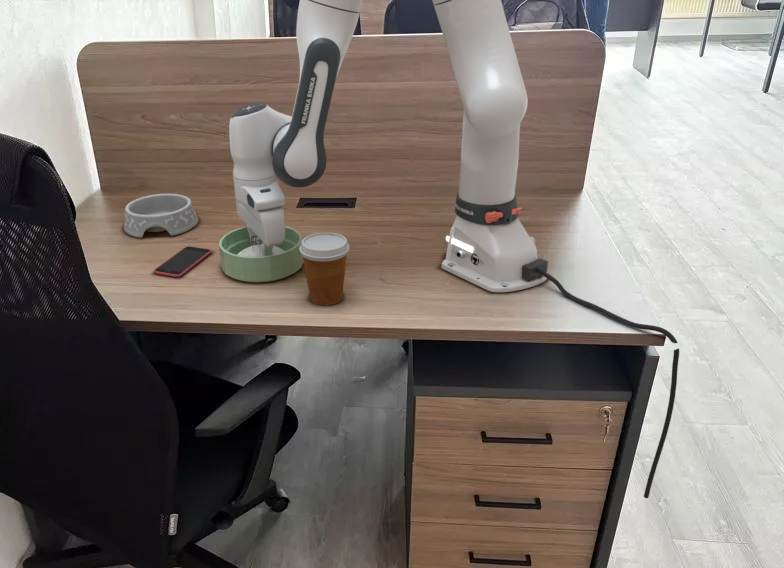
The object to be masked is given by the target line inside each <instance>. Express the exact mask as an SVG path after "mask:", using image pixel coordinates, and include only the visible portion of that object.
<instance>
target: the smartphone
mask: <svg viewBox="0 0 784 568" xmlns="http://www.w3.org/2000/svg"><path fill="white" fill-rule="evenodd" d="M210 254H212V250H211V249H209V248H204V247H197V246H190V245H189V246H185V247H183V248H182V249H181V250H180V251H178V252H176V253H175V254H174V255H173V256H171V257H170V258H168V259H167V260H165V262H163V263H161V264H160V265H159V266H158V267H156V268H155V269H154V270H153V273H154V274H157V275H163V276H168V277H172V278H173V277H175V278H179V277H182V276H184V275H185V274H186V273H187V272H189V271H190V270H191V269H192V268H194V267H195V266H196V265H197V264H199V263H200V262H201V261H203V260H204V259H205V258H207V256H209V255H210Z"/></svg>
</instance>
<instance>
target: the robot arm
mask: <svg viewBox="0 0 784 568" xmlns="http://www.w3.org/2000/svg"><path fill="white" fill-rule="evenodd" d="M363 1H364V0H299V4H298V8H297V17H296V30H295V31H296V32H295V33H296V45H297V51H298V59H299V80H298V85H297V91H296V95H295V101H294V105H293V110H292V114H291V115H288V114H285V113H282V112H279V111H278V110H276V109H273V108H272V107H271V106H269V104H267V103H264V102H259V103H258V102H255V103H250V104H246V105H244V106H241V107H239V108H237V109H236V110H234V112H233V113H232V114H231V116H230V119H229V123H228V124H229V126H228V129H229V130H228V131H229V132H228V136H229V151H230V156H231V159H232V161H233V170H232V179H233V188H234V197H235V208H236V213H237V216H238V218H239V219H240V220H241V221H242V222H243V223H244V224H245V225H246V227H247V229H248V232H249V235H250V242H251V243H252V241H253V238H254V241H253V245H259V244H260V243H259V240H260V239H261V240H262V243H263V248H262V255H263V256H269V255H273V253H272V249H273V246H276V245H280V244H282V243H283V242H284V239H285V226H286V225H285V224H286V222H285V221H286V220H285V218H286V217H285V211H284V208H283V206H286V203H287V201H286V196H285V193H284V192H283V190H282V188H281V187H280V184H279V180H280V181H281V182H282V183H283V184H285V185H286V186H288V187H292V188H307V187H310V186H312V185H314V184H316V183H317V182H318V181H319V180H320V179H321V178H322V176H323V175H324V173H325V171H326V168H327V153H326V147H325V141H324V138H325V137H324V135H325V130H326V129H325V128H326V125H327V120H328V115H329V111H330V105H331V101H332V97H333V94H334V93H333V92H334V89H335V84H336V81H337V78H338V75H339V72H340V70H341V67H342V64H343V62H344V59H345V57H346V54H347V51H348V49H349V47H350V44H351V42H352V39H353V36H354V33H355V30H356V27H357V25H358V22H359V17H360V14H361V10H362V6H363ZM431 2H432V4H433V7H434V10H435V13H436V17H437V21H438V24H439V27H440V29H441V33H442V36H443V39H444V43H445V46H446V49H447V53H448V57H449V61H450V65H451V67H452V71H453V74H454V75H453V76H454V78H455V81H456V84H457V89H458V93H459V96H460V100H461V103H462V107H463V114H462V131H461V132H462V133H461V134H462V135H461V148H460V149H461V150H460V165H459V181H458V192H457V193H456V197H455V200H454V202H455V203H454V207H455V208H454V213H455V214H456V215H455V219H454V221H453V224H452V225H451V228H450V230H449V235H446V237H445V240H446V242H447V249H446V255H445V259H443V261H442V262H441V265H440V267H441V268H440V269H442V270H444V271H446V272H448V273H450V274H452V275H455V276H457V277H459V278H461V279H463V280H465V281H467V282H469V283H471V284H473V285H476V286H478V287H480V288H482V289H484V290H486V291H488V292H490V293H510V292H517V291H521V290H526V289H530V288H532V287H533V288H534V287H536V286H539V285H541V284H543V283H544V282H545V281H547V280H549V281H550V282H552V284H554V285H555V286H556V287H557V289H558V290H559V292H560V293H562V294H563V296H565V297H566V298H568V299H570V300H571V301H573V302H575V303H577V304H579V305H582V306H584V307H588V308H590V309H593V310H594V311H597V312H599V313H601V314H602V315H604V316H607V317H608V318H610V319H612V320H615V321H617V322H619V323H621V324H624V325H626V326H629V327H631V328H634V329H639V330H645V331H653V332H658V333H660V334H662V335H663V336H666V338H668V339H669V341H670V342H671V343H673V344H678V341H677V339H676V337H675V336H674V335H673V333H671V331H668V330H667V329H665V328H664V327H661V326H657V325H652V324H643V323H637V322H634V321H631V320H628V319H626V318H624V317H622V316H619V315H617V314H615V313H613V312H610V310H609V311H608V310H607V309H606V308H602V307H600V306H599V305H597V304H594V303H592V302H590V301H587V300H584V299H581V298H579V297H577V296H575V295H573V294H571V292H569V291H567V290H566V289H565V287H564V286H563V285H562V284H561V282H560V281H559V280H558V279H556V278H555V277H554V276H552V275H551V274H549V273H548V268H549V267H548V266H549V261H548V260H545V259H543V258H541V257H540V258H538V248H537V246H536V239H535V238H534V236H530V235H529V233H528V232H527V230H526V228H525V227H524V226H523V224H522V222H521V220H520V219H519V216H520V214H522V213H523V211H522V209H523V207H522V206H520V207H519V206H518V200H517V199H518V198H517V195H516V188H517V187H516V185H517V176H518V169H519V158H520V136H521V135H520V133H521V123H522V121H523V119H524V117H525V115H526V113H527V110H528V103H529V102H528V92H527V89H526V86H525V83H524V78H523V74H522V70H521V68H520V64H519V61H518V57H517V53H516V50H515V46H514V43H513V40H512V39H513V38H512V36H511V32H510V29H509V25H508V20H507V18H506V14H505V10H504V7H503V6H504V5H503V3H502V0H431ZM278 179H279V180H278ZM679 360H680V348H675V349H673V355H672V365H671V380H670V382H671V384H670V389H669V391H670V392H669V399H668V405H667V411H666V415H665V418H664V424H663V427H662V430H661V431H662V432H661V434H660V437H659V441H658V443H657V444H658V445H657V448H656V450H655V451H656V452H655V453H654V458H653V460H652V464H651V467H650V471H649V474H648V477H647V482H646V485H645V490H644V494H643V498H644V499H649V497H650V492H651V490H652V489H651V488H652V485H653V482H654V477H655V474H656V470H657V467H658V465H659V461H660V458H661V455H662V451H663V449H664V445H665V442H666V439H667V435H668V432H669V428H670V425H671V420H672V415H673V410H674V406H675V401H676V400H675V399H676V393H677V384H678V370H679Z"/></svg>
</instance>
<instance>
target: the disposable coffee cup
mask: <svg viewBox="0 0 784 568" xmlns="http://www.w3.org/2000/svg"><path fill="white" fill-rule="evenodd" d="M350 247H351V245H350V244H349V243H348V240H347V238H346V236H344V235H342V234H340V233H336V232H327V231H326V232H323V231H322V232H316V233H312V234H308V235H307V236H305V237H303V238H302V243H301V246H300V248H299V249H300V252H301V255H302V256H303V261H304V263H303V266H304V267H303V268H304V272H305V278H306V282H307V287H308V292H309V299H310V301H311V302H312V303H314V304H316V305H320V306H331V305H334V304H338V303H339V302H341V301H342V299H343V294H344V285H345V284H344V283H345V275H346V266H347V259H348V258H347V257H348V253H349V251H350Z"/></svg>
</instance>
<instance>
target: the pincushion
mask: <svg viewBox="0 0 784 568" xmlns="http://www.w3.org/2000/svg"><path fill="white" fill-rule="evenodd" d="M253 241H254V238H253ZM253 241H252V244H253ZM259 243H260V240H259ZM262 248H263V244H259V245H254V246H251V244H250V247H248V248H246V249H244V250H242V251H241V252H239V253H238V254H237V255H240V256H251V257H259V256H263V255H262ZM282 252H284V250H283V249H281V248H278V247H276V246H273V249H272V253H273V255H274V254H279V253H282Z"/></svg>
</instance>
